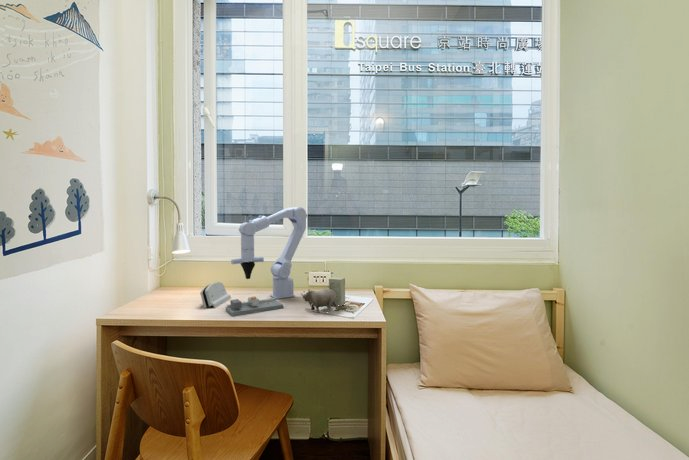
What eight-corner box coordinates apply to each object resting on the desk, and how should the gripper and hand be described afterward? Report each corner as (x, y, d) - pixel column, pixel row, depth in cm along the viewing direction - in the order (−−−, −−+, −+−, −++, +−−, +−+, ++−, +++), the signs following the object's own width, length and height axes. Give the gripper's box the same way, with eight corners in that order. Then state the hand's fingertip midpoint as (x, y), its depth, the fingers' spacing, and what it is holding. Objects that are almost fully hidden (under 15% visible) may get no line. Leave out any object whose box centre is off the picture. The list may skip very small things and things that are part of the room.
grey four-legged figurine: (342, 309, 151) (322, 278, 152) (315, 327, 152) (295, 296, 154) (345, 305, 158) (326, 276, 160) (319, 322, 160) (300, 293, 162)
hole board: (274, 303, 168) (274, 292, 167) (283, 307, 160) (283, 297, 160) (225, 310, 155) (225, 299, 155) (232, 316, 148) (232, 304, 147)
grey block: (254, 303, 160) (254, 295, 160) (259, 306, 156) (259, 297, 156) (248, 304, 158) (248, 296, 158) (252, 307, 154) (252, 298, 154)
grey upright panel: (215, 308, 158) (207, 286, 158) (205, 311, 159) (197, 289, 159) (231, 298, 175) (224, 278, 175) (222, 301, 176) (215, 281, 175)
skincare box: (345, 304, 166) (345, 277, 165) (341, 307, 162) (341, 279, 161) (332, 303, 169) (332, 276, 168) (328, 305, 165) (328, 278, 164)
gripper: (259, 247, 176) (259, 275, 177) (228, 248, 168) (229, 278, 169) (265, 248, 170) (265, 278, 171) (233, 250, 162) (234, 281, 163)
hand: (247, 278), depth 170 cm, fingers closed
